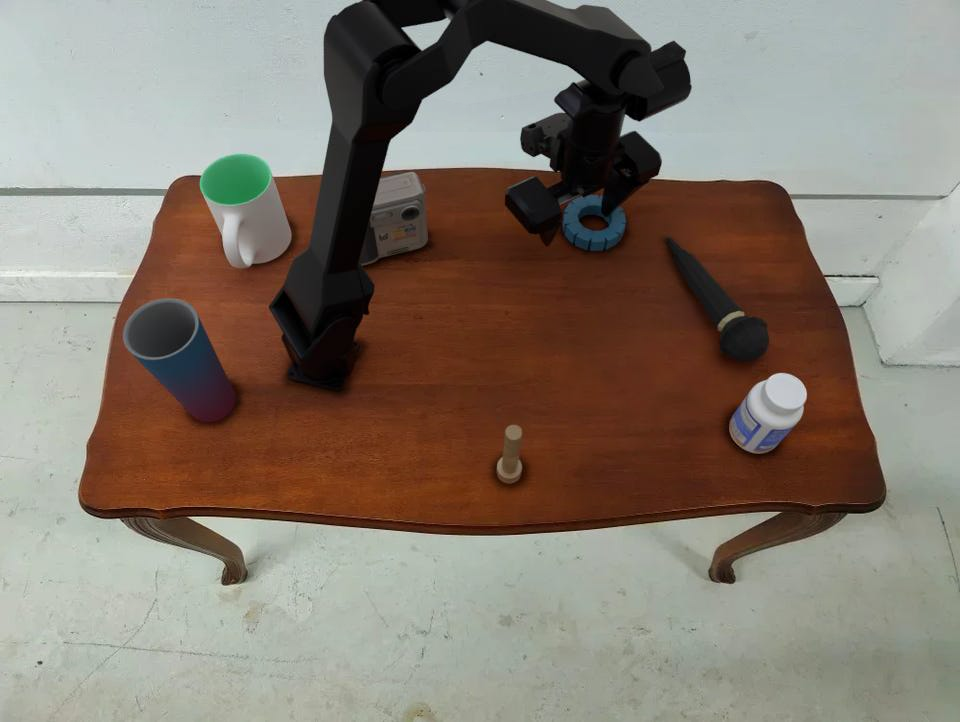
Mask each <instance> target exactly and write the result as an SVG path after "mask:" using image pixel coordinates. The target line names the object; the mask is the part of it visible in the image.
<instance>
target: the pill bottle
mask: <svg viewBox="0 0 960 722" xmlns="http://www.w3.org/2000/svg"><path fill="white" fill-rule="evenodd" d="M807 396H808V391H807V389H806V386H805V385H804V383H803V382H802V381H801V380H800V379H799V378H797V377H796V376H795V375H793V374H791V373H785V372H778V373H774V374H772V375H771V376H769V377H768V378H767V379H765V380H761V381H759V382H758V383H756V384H755V385H754V386H752V388H751V389H750V390H749V392H748V393H747V395H746V396H745V397H744V399H743V400H742V402H741V403H740V405H739V406H738V408H737V409H736V411H734V413H733V415H732V417H731V418H730V420H729V424H728V425H729V427H728V428H729V433H730V437H731V439H732V440H733V441H734V442H735V444H736V445H737V446H739V448H741V449H742V450H744V451H746V452H749V453H752V454H758V455H759V454H766V453H769V452H770V451H772V450H773V449H775V448H776V447H777V446H778V445H779V444H780V443H781V442H782V441H783V439H784V438H785V437H787V435H788V434H789V433H790V432H791V431H792V429H794V427H795V426H796V425H797V424H798V423H799V422H800V420H801V418H802V416H803V414H804V410H805V409H804V404H805V403H806V401H807V398H808V397H807Z"/></svg>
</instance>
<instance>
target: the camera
mask: <svg viewBox="0 0 960 722" xmlns="http://www.w3.org/2000/svg"><path fill="white" fill-rule="evenodd" d="M426 193H427V191H426V188H425V184H424V183H422V182H421V180H420V177H419V175H418V174H417V173H416V172H413V171H409V172H405V173H392V174H387V175H383V176H381V178H380V182H379V186H378V190H377V193H376V197H375V201H374V205H373V209H372V213H371V217H370V221H369V224H368V228H367V232H366V236H365V240H364V244H363V248H362V252H361V256H360V259H359V262H360V264H361V265H362V267H364V266H367V265H371V264H374V263H375V262H377V261H378V260H379V259H381V258H385V257H390V256H393V255H398V254H403V253H406V252H411V251H414V250H419V249H421V248H423V247H424V246H426V245H427V243H428V240H429V232H428V215H427V204H426Z"/></svg>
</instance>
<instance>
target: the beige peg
mask: <svg viewBox="0 0 960 722" xmlns="http://www.w3.org/2000/svg"><path fill="white" fill-rule="evenodd" d="M522 439H523V430H522V428H521V427H520V426H519V425H517V424H510V425H508V426H507V427H506V428H505V430H504V439H503V448H502V449H503V450H502V457H500V458H499V459H498V461H497V464H496V476H497V478H498V480H499V481H501V482H502V483H505V484H514V483H516V482H518V481H519V480H520V478H521V476H522V472H523V464H522V462H521V460H520V451H521V447H522V446H521V445H522Z"/></svg>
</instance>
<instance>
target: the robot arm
mask: <svg viewBox="0 0 960 722" xmlns="http://www.w3.org/2000/svg"><path fill="white" fill-rule="evenodd" d="M444 20H449V21H450V22H449V23H448V25H447V26H446V28H445V29H444V31H443V32H442V33H441V35H440V37H439V38H438V39H437V41H435V42H434V43H433V44H431V45H429V46H427V47H426V48H424V49H421V48H420V47H419V46H418V44H416V42H415V41H414V40H413V39H412V38H411V37H410V36H409V34H407V32H406V31H405V30H404V29H403V28H408V27H415V26H419V25H420V26H421V25H426V24H432V23H438V22H441V21H444ZM486 42H489V43H491V44H495V45H498V46H501V47H505V48H508V49H512V50H515V51H518V52H520V53H524V54H528V55H530V56H534V57H537V58H540V59H544V60H547V61H549V62H554V63H557V64H559V65H563V66H567V67H568V68H570V69H571V70H572V71H574V72H575V73H577V74H578V75H579V76H580V77H582V78H583V79H582V80H580V81H578V82H576V81H572V82H571V83H570V84H569V85H568V86H567V87H566V88H565V89H563V90H560V91H559V92H558V93H557V94H556V96H555V97H554V98H553V102H554V103H555V104H556V105H557V106H558V107H559V108H560V109H561V110H562V111H563V112H556V113H553V114H551V115H549V116H546V117H544V118H542V119H540V120H537V121H535V122H531V123H530V124H528V125H527V124H526V125H525V126H523V127H521V131H520V136H519V142H520V148H521V150H522V152H523V153H525V154H527V155H528V156H530V157H532V158H535V157H538V156H540V155H542V156H544V157H546V158H547V159H549V164H548V166H549V168H550V169H551V170H552V171H553V173H558V172H559V173H560V179H561V181H558V182H556V183H555V184H552V185H550V186H549V187H546V186H545V184H543V182H542V181H541V180H540V179H539V177H537V176H530V177H528V178H526V179H524V180H521V181H520V182H518V183H515V184H513V185H511V186H509V187H507V188H506V190H505V194H504V206H505V207H506V208H507V210H508V211H509V212H510V213H511V214H512V215H513V216H514V217H515V219H516V220H517V221H518V222H519V223H520V225H521V226H522V227H523V228H524V230H526V232H527V233H528V234H529V235H534V236H537V235H538V236H539V238H540V239H539V240H540V242H541V243H542V244H543V245H544V246H545V247H546V248H548V247H549V246H550V245H551V243H552V242H553V241H554V239H555V237H556V235H558V232H559V230H560V228H561V226H562V222H561V221H560V220H561V219H562V216H563V215H562V214H563V210H562V208H561V206H562V205H565V204H567V203H570V202H572V201H573V200H575V199H577V198H579V197H581V196H582V197H583V198H585V197H586V196H588V195H593V194H595V193H597V192H599V191H600V190H603V192H602V196H603V197H602V203H601V213H602V214H603V215H604V216H605V217H608V216H609V215H610V214H611V213H612V212H614V211H615V210H616V209H617V208H618V207H619V206H620V207H621V206H622V204H624V203H625V202H626V201H627V200H628V199H630V198H631V197H632V196H633V195H634V194H635V193H636V192H638V191H639V190H640V189H642V187H644V186H646V185H647V184H649V182H650V180H652V179H654V178H655V177H657V176H659V175H660V172H661V171H660V170H661V167H662V165H663V159H662V156H661V153H660V152H659V151H658V150H657V149H656V148H654V146H653V145H652V144H651V143H649V142H648V141H647V140H646V139H645V138H644V136H642V135H641V133H639V132H638V131H637V130H632V131H628V132H626V133H624V134H622V130H623V126H624V123H625V122H624V121H625V117H626V116H627V117H628V118H629V119H631V120H633V121H636V122H642V121H644V120H646V119H649V118H651V117H653V116H655V115H657V114H659V113H661V112H664V111H666V110H668V109H670V108H673V107H675V106H676V105H679V104H681V103H684V102H685V101H686V100H687V99H688V98H689V96H690V94H691V92H692V88H693V86H692V80H691V73H690V70H689V67H688V64H687V62H686V60H685V58H686V54H687V50H686V49H685V48H683V46H681V45H680V44H679V43H678V42H676V41H675V40H671V41H669V42H667V43H665V44H663V45H662V46H660V47H659V48H656V49H654V50H652V45H651V43H649V42H648V41H647V40H646V39H645V38H643V36H641V35H640V34H639V33H638V32H636V30H634V28H632V27H631V26H630V25H629V24H628V23H626V22H625V21H624V20H623V19H622V18H621V17H619V16H618V14H616V13H614V11H612V9H610V8H609V7H606V6H599V5H591V4H582V5H579V6H578V7H576V8H568V7H564V6H563V5H559V4H557V3H555V2H552V1H550V0H360V1H358V2H354V3H352V4H350V5H348V6H345V7H343V9H341V10H340V12H338V13H337V14H333V15H332V16H331V17H330V19H329V21H328V22H327V25H326V27H325V31H324V34H323V78H324V83H325V84H324V85H325V89H326V93H327V98H328V102H329V107H330V112H331V126H330V129H329V130H330V132H329V135H328V142H327V147H326V153H325V159H324V163H323V167H322V172H321V173H322V174H321V179H320V184H319V185H320V186H319V189H318V195H317V200H316V206H315V212H314V217H313V222H312V228H311V234H310V239H309V245H308V246H307V248H306V249H305V250H304V251H302V252H300V253H298V255H296V256H295V257H294V258H293V259H292V261H291V264H290V266H289V269H288V272H287V275H286V277H285V279H284V283H283V285H282V286H281V288H280V289H279V290H278V292H277V293H276V294H275V297H273V299H272V300H271V302H270V303H269V304H268V310H269V311H270V313H271V314H272V317H273V318H274V320H275V321H276V323H277V325H278V327H279V328H280V331H281V332H282V334H281V338H280V339H281V341H282V344H283V346H284V348H285V351H286V353H287V355H288V357H289V359H290V362H291V365H290V366H289V368H288V371H287V373H286V377H287V379H288V380H290V381H292V382H297V383H300V384H305V385H309V386H313V387H317V388H322V389H326V390H328V391H329V390H330V391H334V392H341V391H342V390H343V388H344V386H345V383H346V382H347V379H348V377H349V376H351V375H352V372H353V370H354V368H355V366H356V363H357V360H358V358H359V356H358V352H359V350H360V343H359V342H358V341H356V340H355V338H356V337H355V336H356V333H357V329H358V328H359V326H360V325H361V323H362V321H363V318H364V316H368V315H370V309H369V305H370V302H371V300H372V297H373V296H374V293H375V283H374V282H373V280H372V279H371V277H370V276H369V274H368V272H367V271H366V270H365V268H364V266H362V265H361V264H360V262H359V259H360V256H361V252H362V248H363V244H364V240H365V236H366V232H367V228H368V224H369V221H370V217H371V213H372V209H373V205H374V201H375V197H376V193H377V190H378V186H379V182H380V178H381V177H382V174H383V170H384V165H385V162H386V159H387V154H388V150H389V147H390V143H391V141H392V140H393V139H394V138H395V137H396V136H398V135H399V134H400V133H401V132H403V131H404V130H405V129H406V128H408V127H409V126H410V125H411V124H413V122H414V120H415V118H416V115H417V113H418V112H419V110H420V107H421V105H422V103H423V100H425V99H426V98H428V97H430V96H431V95H433V94H435V93H436V92H438V91H439V90H441V89H443V88H444V87H446V86H448V85H449V84H451V82H453V81H454V79H455V78H456V76H457V75H458V73H459V71H460V70H461V68H462V67H463V66H464V64H465V62H466V61H467V60H468V58H469V56H470V54H471V53H472V51H473V50H474V49H476V48H478V47H479V46H481V45H483V44H484V43H486ZM621 134H622V135H621ZM291 375H292V376H291ZM338 386H339V387H338Z"/></svg>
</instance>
